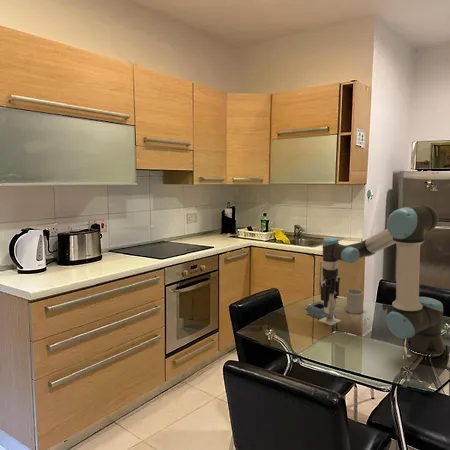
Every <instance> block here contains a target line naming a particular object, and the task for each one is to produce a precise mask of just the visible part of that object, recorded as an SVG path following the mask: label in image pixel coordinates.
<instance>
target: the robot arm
mask: <svg viewBox="0 0 450 450" xmlns="http://www.w3.org/2000/svg"><path fill="white" fill-rule="evenodd" d="M438 223H439V213H438V212H437V211H436V209H435V208H433V207H431V206H429V205H427V204H419V205H413V206H406V207H400V208H398V209H395V210H393V212H391V213H390V214H389V216H388V218H387V222H386V229H384V230H382V231H380V232H378V233H375V234H374V235H372V236H371V237H368V238H366V239H365V240H363V241H360V242H356V243H352V244H346V245H344V244H340V241H339V239H338V238H337V237H332V236H330V237H325V238H324V239H322V246H321V247H322V276H323V281H322V282H319V286H320V300H321V302H322V301H323V303H324V312H325V313H328V314H329V309H330V301H328V300H329V293H330V289H331V290H334V291H336V294H334V312H336V303H337V301H336V300H337V299H339V296H340V282H341V278H340V277H339V276H338V275H339V269H338V268H339V261H341V262H343V263H344V262H345V263H348V264H355V263H357V262H358V261H359V259H362V258H367V257H370V256H374V255H375V254H376V253H377V252H379V251H382V250H384V249H386V248H388V247H390V246H392V245H395V244H396V275H395V276H396V277H395V278H396V281H395V282H396V283H395V284H396V286H395V289H396V290H395V291H396V292H395V295H396V296H395V300H394V301H392V302H391V303H392V304H391V311H390V312H388V314H387V315H386V317H385V324H386V326H387V329H388V330H389V331H390V332H391V334H393V335H394V336H395V337H396V338H398V339H401V340H406V339H407V340H406V348H407V350H408V349H410V350H412V351H414V352H417V353H421V354H428V355H430V354H432V355H433V354H439V353H442V352H443V351H444V350H445V351H446V346H445V343H444V339H443V337H442V331H443V330H442V328H443V317H444V316H443V315H444V305H443V303H442V302H441V301H440V300H437V299H435V298H432V297H427V296H420V269H421V268H420V266H421V265H420V264H421V263H420V262H421V260H420V259H421V245H423V243H425V234H427V233H430V232H432V231H433V230H435V229H436V227H437V226H438Z"/></svg>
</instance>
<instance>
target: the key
mask: <svg viewBox="0 0 450 450" xmlns="http://www.w3.org/2000/svg"><path fill="white" fill-rule="evenodd" d="M334 294H336V291H334V290H331V289H330V293H329V300H328V301H330V309H329V314H328V313H326V319H329V320H332V319H334V318H335V317H334V316H335V313H334V312H335V311H334Z"/></svg>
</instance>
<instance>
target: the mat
mask: <svg viewBox="0 0 450 450" xmlns="http://www.w3.org/2000/svg"><path fill="white" fill-rule="evenodd" d="M318 322H320V323H324V324H326V325H329V326H334V325H336V324H337V323H340V322H342V320H341V319H339V318H335V317H334V319H332V320H329V319H326V317H324V318H322V319H319V320H318Z"/></svg>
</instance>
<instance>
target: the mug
mask: <svg viewBox="0 0 450 450" xmlns="http://www.w3.org/2000/svg"><path fill="white" fill-rule="evenodd" d="M345 308H346V311H347V312H348V313H350V314H355V315H356V314H361V313H363V312H364V291H363V290H361V289H359V288H349V289H347V290H346V307H345Z"/></svg>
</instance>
